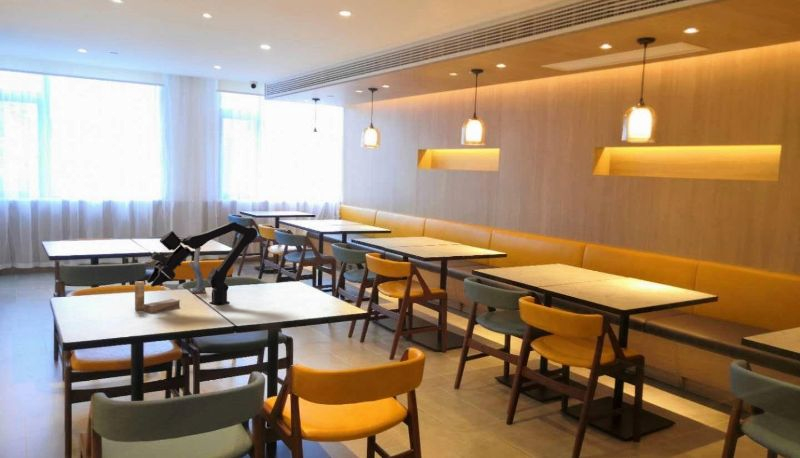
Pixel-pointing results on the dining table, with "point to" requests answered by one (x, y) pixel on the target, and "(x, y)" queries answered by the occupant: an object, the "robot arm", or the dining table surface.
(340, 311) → the dining table surface
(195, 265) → the antler
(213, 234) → the robot arm
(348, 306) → the dining table surface
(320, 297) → the dining table surface
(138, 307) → the oak rod
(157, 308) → the block
